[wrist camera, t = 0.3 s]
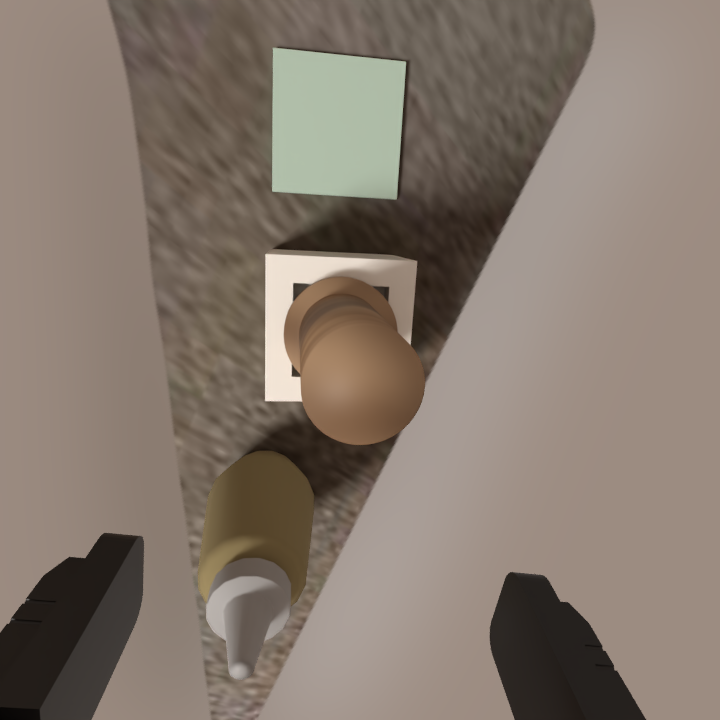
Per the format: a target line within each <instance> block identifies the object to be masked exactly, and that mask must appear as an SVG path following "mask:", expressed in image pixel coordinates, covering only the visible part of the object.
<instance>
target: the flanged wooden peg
mask: <svg viewBox="0 0 720 720" xmlns="http://www.w3.org/2000/svg"><path fill="white" fill-rule="evenodd" d="M284 344H285V349H286V352H287V355H288V357H289V359H290V361H291V363H292V365H293V366H294V368H295V369H296V370H297V371H298V372H299V374H300V381H301V397H302V402H303V405H304V408H305V411H306V413H307V415H308V417H309V418H310V419H311V421H312V422H313V424H314V425H315V426H316V427H317V428H318V429H319V430H320V431H322V432H323V433H324V434H326V435H327V436H329V437H330V438H332V439H335V440H337V441H340V442H343V443H347V444H352V445H368V444H373V443H378V442H381V441H384V440H386V439H388V438H391V437H392V436H394V435H396V434H397V433H399V432H400V431H401V430H402V429H404V428H405V427H406V426H407V425H408V424H409V423H410V421H411V420H412V419H413V417H414V416H415V414H416V413H417V411H418V409H419V407H420V405H421V402H422V399H423V395H424V389H425V376H424V370H423V366H422V363H421V361H420V359H419V357H418V355H417V353H416V351H415V350H414V349H413V348H412V346H411V345H410V344H409V343H408V342H407V341H406V340H405V339H404V338H403V337H402V336H401V335H400V334H399V333H398V329H397V322H396V318H395V315H394V312H393V310H392V308H391V306H390V305H389V303H388V301H387V300H386V299H385V298H384V296H383V295H382V294H381V293H380V292H378V291H377V290H376V289H374V288H373V287H372V286H370V285H369V284H367V283H365V282H363V281H361V280H358V279H355V278H351V277H343V276H340V277H329V278H325V279H322V280H319V281H317V282H315V283H313V284H311V285H310V286H308V287H307V288H305V289H304V290H303V291H302V292H301V293H300V294H299V295H298V296H297V297H296V298H295V300H294V301H293V303H292V304H291V306H290V308H289V310H288V313H287V316H286V319H285V324H284Z"/></svg>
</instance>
